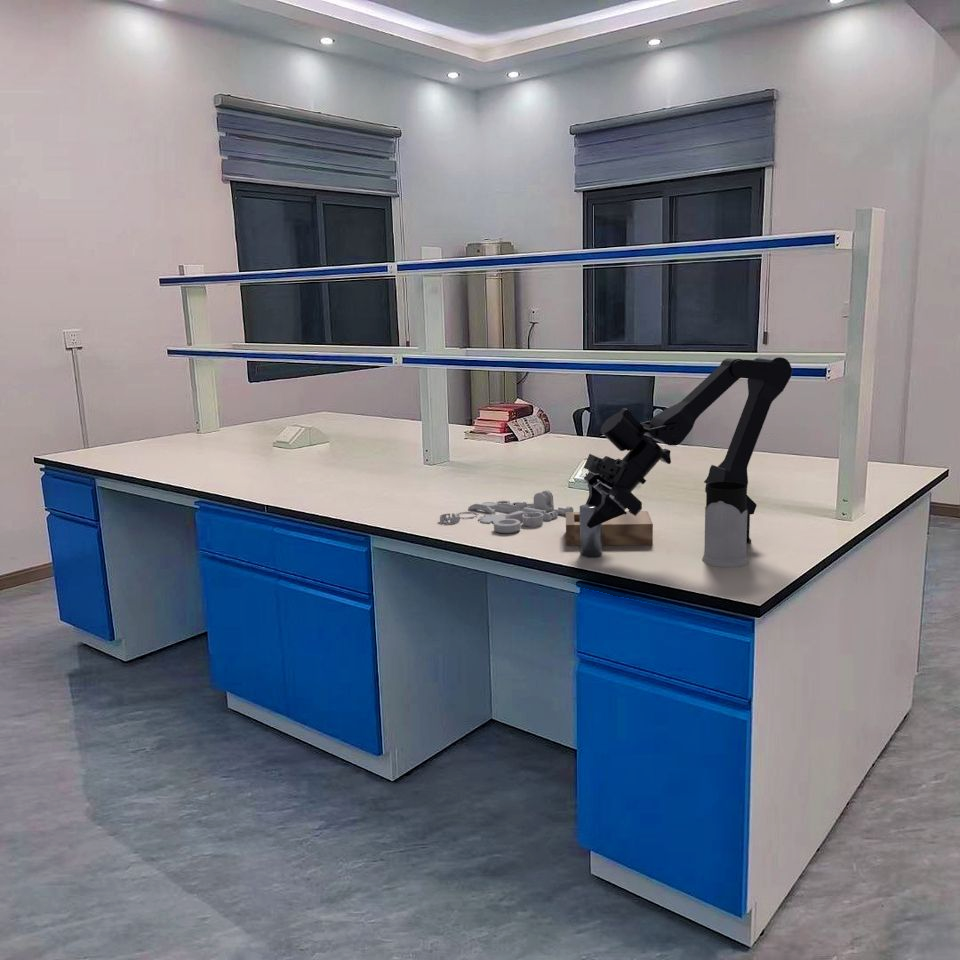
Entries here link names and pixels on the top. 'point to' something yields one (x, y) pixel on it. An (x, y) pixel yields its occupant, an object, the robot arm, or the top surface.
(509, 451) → the top surface
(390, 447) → the top surface
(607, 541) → the wooden block with hole
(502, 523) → the robot parts
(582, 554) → the axle
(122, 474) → the top surface
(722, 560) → the glass holder
